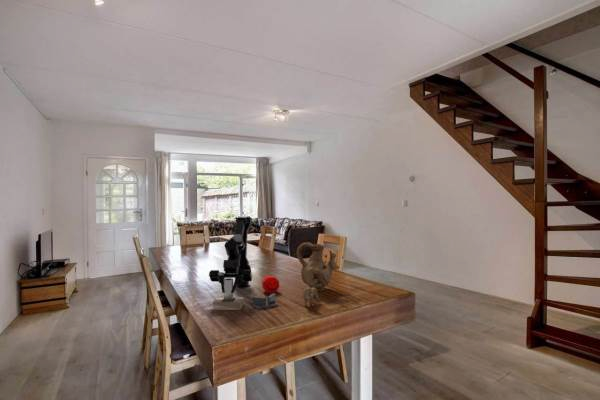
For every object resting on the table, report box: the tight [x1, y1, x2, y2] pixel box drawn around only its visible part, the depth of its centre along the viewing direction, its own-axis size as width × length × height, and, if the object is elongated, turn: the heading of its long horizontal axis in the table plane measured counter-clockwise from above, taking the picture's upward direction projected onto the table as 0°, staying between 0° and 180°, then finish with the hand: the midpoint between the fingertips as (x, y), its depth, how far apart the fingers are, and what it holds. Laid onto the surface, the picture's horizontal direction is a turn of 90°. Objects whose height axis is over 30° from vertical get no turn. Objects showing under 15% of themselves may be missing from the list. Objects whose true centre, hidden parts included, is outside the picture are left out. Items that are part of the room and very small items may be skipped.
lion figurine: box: [302, 286, 320, 307], centre depth 138 cm, size 15×5×9 cm, turn 165°
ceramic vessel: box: [296, 241, 340, 292], centre depth 161 cm, size 18×19×25 cm
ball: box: [261, 275, 280, 294], centre depth 158 cm, size 8×8×8 cm
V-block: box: [249, 293, 279, 310], centre depth 138 cm, size 10×11×4 cm
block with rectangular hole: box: [212, 296, 245, 311], centre depth 134 cm, size 8×12×3 cm, turn 90°
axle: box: [223, 278, 234, 302], centre depth 134 cm, size 4×4×12 cm
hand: (227, 292), depth 133 cm, fingers closed on axle, 4 cm apart
